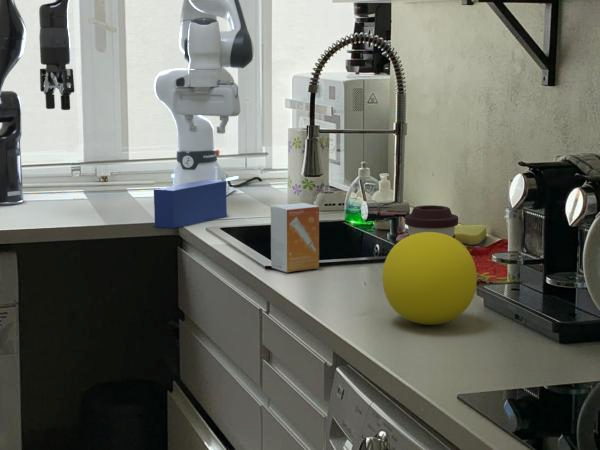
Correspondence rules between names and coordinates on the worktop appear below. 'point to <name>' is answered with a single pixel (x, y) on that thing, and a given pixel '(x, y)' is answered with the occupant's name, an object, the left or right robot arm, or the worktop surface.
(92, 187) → the worktop surface
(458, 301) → the toy
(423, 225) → the coffee cup
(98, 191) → the worktop surface
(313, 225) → the small box
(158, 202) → the box
